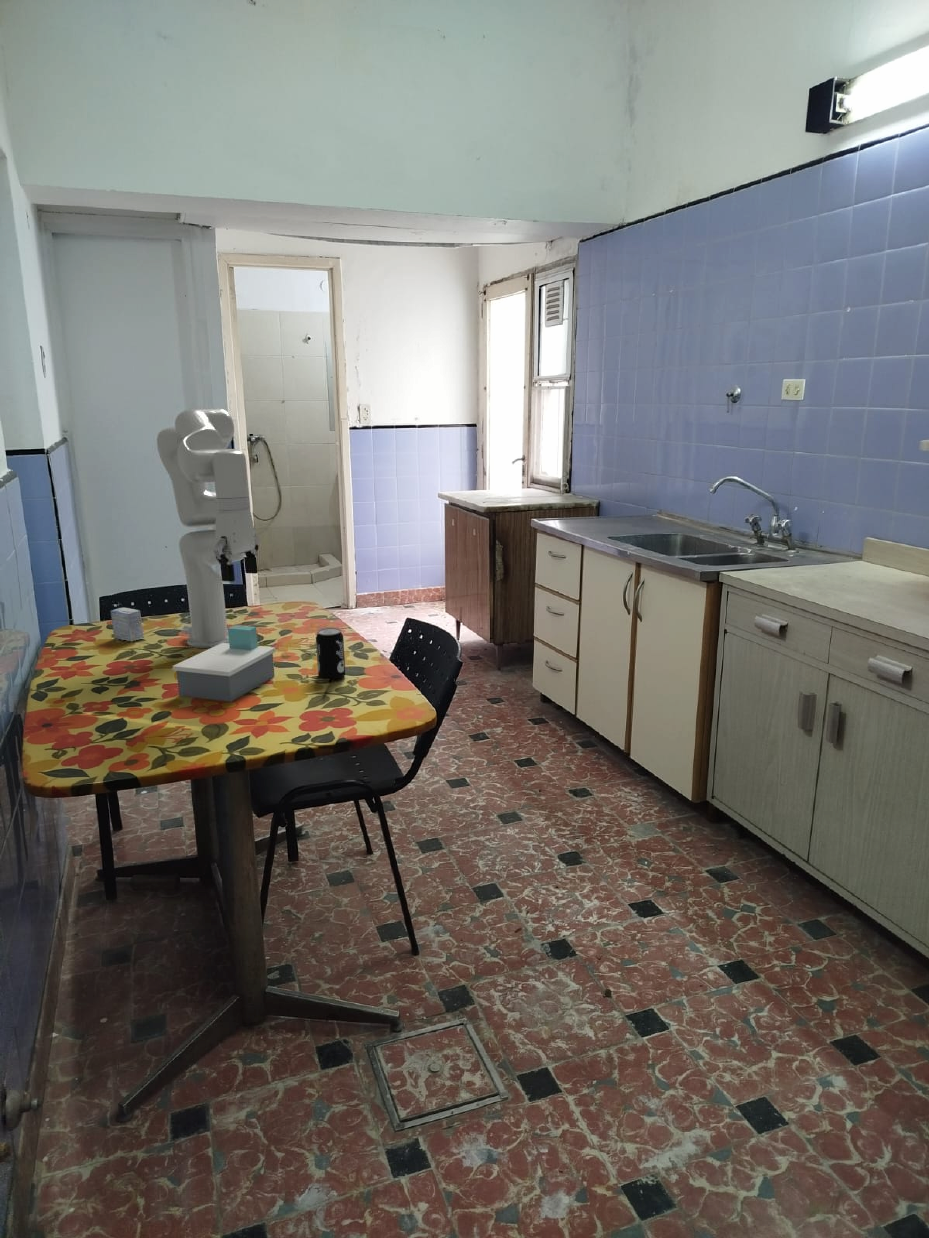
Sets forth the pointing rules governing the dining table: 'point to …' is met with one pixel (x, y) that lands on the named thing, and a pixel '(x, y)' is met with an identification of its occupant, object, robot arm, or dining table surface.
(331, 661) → the beverage can
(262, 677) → the tub
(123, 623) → the white upright block
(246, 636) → the lid
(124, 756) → the dining table surface
